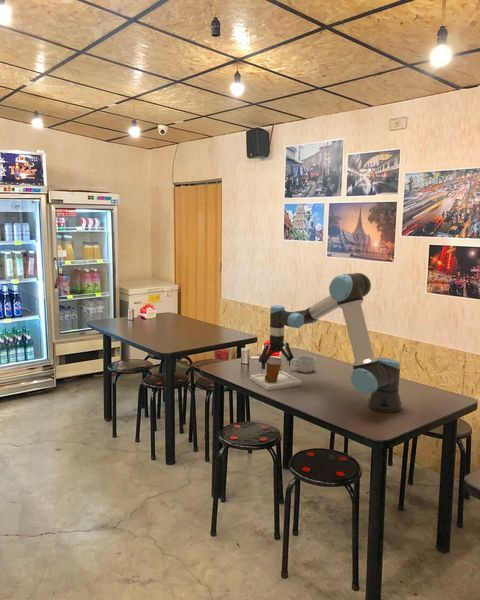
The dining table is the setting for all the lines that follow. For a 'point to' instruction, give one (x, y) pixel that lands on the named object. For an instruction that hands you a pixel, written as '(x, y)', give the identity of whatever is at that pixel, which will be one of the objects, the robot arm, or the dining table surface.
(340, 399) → the dining table surface
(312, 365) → the teacup
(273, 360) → the disposable coffee cup
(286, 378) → the tray
